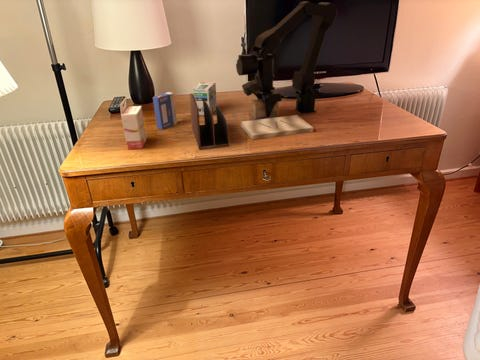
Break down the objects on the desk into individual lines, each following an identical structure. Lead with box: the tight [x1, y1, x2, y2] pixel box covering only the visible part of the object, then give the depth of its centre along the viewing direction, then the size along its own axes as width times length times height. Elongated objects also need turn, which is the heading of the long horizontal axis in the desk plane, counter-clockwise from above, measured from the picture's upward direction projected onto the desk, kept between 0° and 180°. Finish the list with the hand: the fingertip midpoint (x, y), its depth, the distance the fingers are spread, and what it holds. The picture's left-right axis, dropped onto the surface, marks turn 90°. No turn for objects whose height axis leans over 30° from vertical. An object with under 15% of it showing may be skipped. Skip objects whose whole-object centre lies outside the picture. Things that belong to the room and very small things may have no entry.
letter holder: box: [189, 93, 231, 151], centre depth 114 cm, size 10×20×14 cm, turn 13°
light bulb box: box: [192, 81, 218, 116], centre depth 139 cm, size 11×7×11 cm, turn 168°
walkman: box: [152, 91, 178, 131], centre depth 125 cm, size 8×3×12 cm, turn 144°
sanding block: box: [251, 98, 279, 120], centre depth 131 cm, size 9×4×7 cm, turn 106°
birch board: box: [240, 114, 314, 140], centre depth 122 cm, size 22×14×2 cm, turn 106°
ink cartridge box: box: [119, 97, 147, 150], centre depth 110 cm, size 9×5×15 cm, turn 5°
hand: (264, 114), depth 132 cm, fingers open, 6 cm apart
